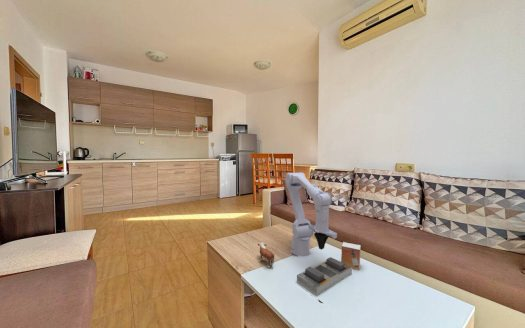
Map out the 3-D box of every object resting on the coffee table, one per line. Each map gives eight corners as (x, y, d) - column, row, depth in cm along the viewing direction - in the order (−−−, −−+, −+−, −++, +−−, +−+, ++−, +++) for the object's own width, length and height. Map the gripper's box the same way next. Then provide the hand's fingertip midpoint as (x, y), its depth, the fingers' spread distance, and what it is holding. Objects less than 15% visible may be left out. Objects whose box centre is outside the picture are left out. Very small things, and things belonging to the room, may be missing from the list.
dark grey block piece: (305, 280, 87) (305, 268, 86) (309, 278, 89) (310, 266, 88) (318, 289, 81) (319, 277, 81) (323, 286, 83) (323, 274, 83)
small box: (340, 267, 98) (341, 245, 98) (342, 262, 103) (342, 241, 103) (359, 272, 95) (360, 249, 94) (360, 266, 100) (360, 244, 99)
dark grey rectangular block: (326, 269, 95) (326, 259, 95) (330, 267, 97) (330, 257, 97) (340, 277, 89) (340, 265, 89) (343, 274, 91) (344, 263, 91)
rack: (296, 284, 86) (296, 274, 86) (331, 265, 100) (332, 257, 100) (316, 297, 78) (316, 287, 78) (351, 275, 92) (351, 266, 92)
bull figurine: (263, 255, 110) (263, 240, 109) (276, 268, 97) (276, 251, 97) (255, 257, 108) (256, 241, 107) (267, 270, 96) (267, 253, 95)
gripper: (304, 217, 99) (303, 245, 100) (330, 225, 87) (329, 257, 88) (313, 214, 103) (313, 241, 104) (340, 222, 92) (339, 252, 92)
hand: (321, 248), depth 96 cm, fingers closed
